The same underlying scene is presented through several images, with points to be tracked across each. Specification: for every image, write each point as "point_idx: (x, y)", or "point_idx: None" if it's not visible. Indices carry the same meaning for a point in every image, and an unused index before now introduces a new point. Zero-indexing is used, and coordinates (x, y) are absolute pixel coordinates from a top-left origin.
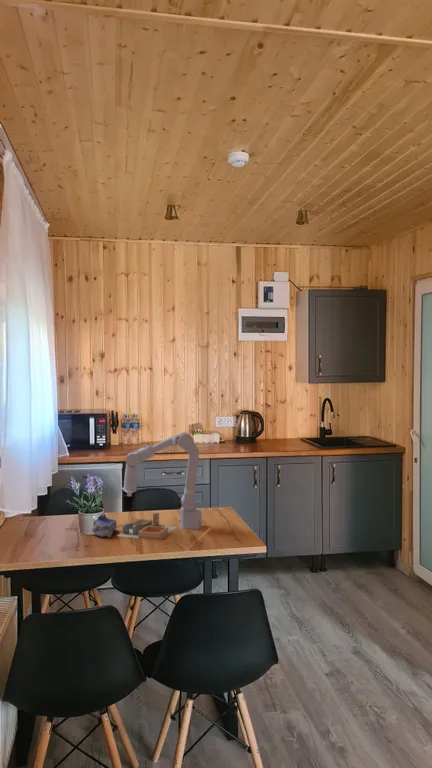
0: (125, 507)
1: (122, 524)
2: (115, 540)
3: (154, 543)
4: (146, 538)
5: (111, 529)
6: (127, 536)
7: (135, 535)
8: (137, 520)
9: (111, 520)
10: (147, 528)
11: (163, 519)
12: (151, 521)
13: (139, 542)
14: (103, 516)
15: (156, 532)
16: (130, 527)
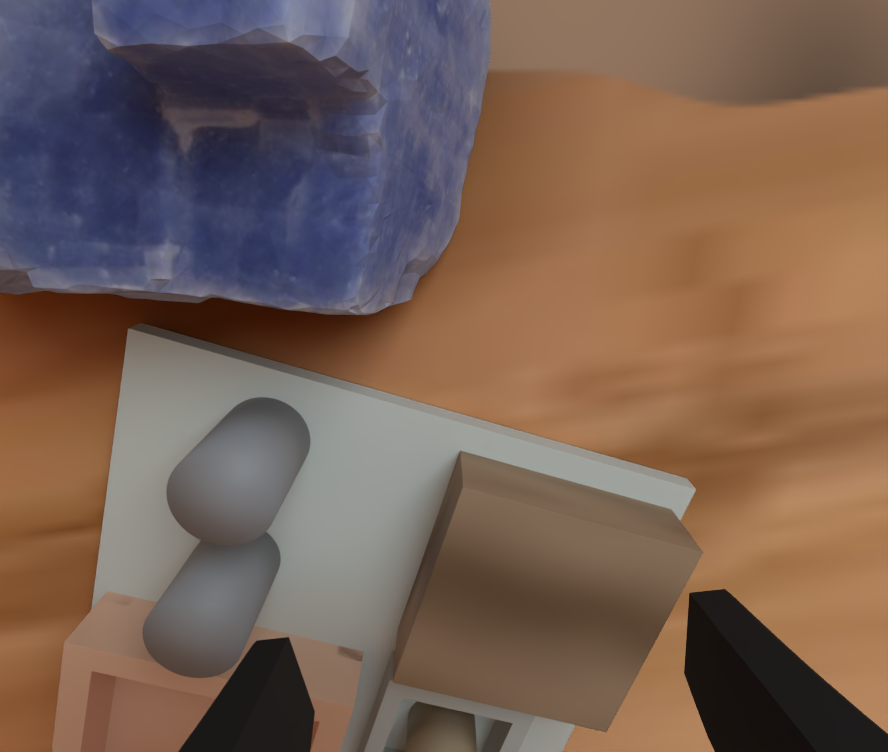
0: (203, 716)
1: (202, 451)
2: (32, 338)
3: (17, 723)
4: None
5: (14, 293)
6: (127, 476)
7: (180, 555)
8: (619, 571)
9: (289, 244)
10: None
11: (882, 726)
12: (578, 717)
13: (16, 600)
14: (107, 47)
15: None
16: (455, 475)
